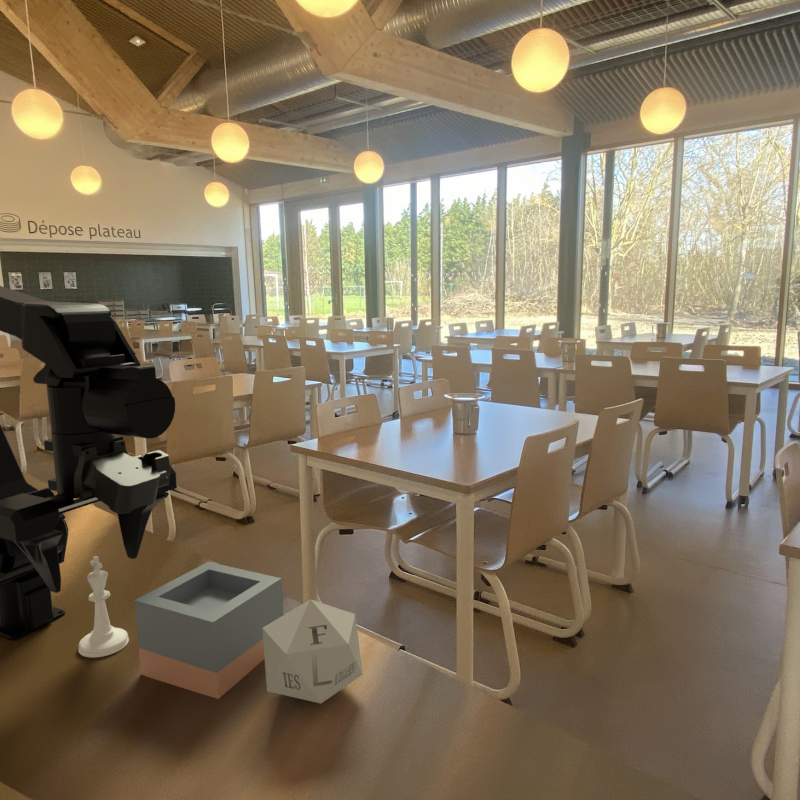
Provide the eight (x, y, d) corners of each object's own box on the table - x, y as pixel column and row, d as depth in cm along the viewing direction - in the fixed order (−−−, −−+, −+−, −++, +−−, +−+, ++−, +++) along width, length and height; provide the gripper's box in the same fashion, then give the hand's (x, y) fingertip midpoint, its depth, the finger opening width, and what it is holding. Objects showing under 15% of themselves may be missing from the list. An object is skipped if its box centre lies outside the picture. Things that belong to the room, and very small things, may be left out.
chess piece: (114, 628, 73) (107, 544, 71) (137, 643, 70) (130, 555, 68) (70, 647, 69) (60, 558, 67) (92, 663, 66) (82, 570, 64)
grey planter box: (141, 676, 64) (134, 600, 63) (212, 629, 73) (208, 561, 71) (218, 703, 59) (212, 622, 58) (285, 649, 68) (281, 578, 67)
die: (271, 743, 54) (265, 631, 52) (264, 682, 62) (258, 584, 61) (371, 723, 56) (368, 615, 54) (351, 667, 64) (348, 572, 63)
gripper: (46, 458, 54) (64, 633, 56) (209, 419, 70) (217, 555, 72) (-32, 445, 59) (-12, 605, 61) (137, 411, 75) (147, 539, 78)
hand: (96, 573), depth 68 cm, fingers open, 9 cm apart
